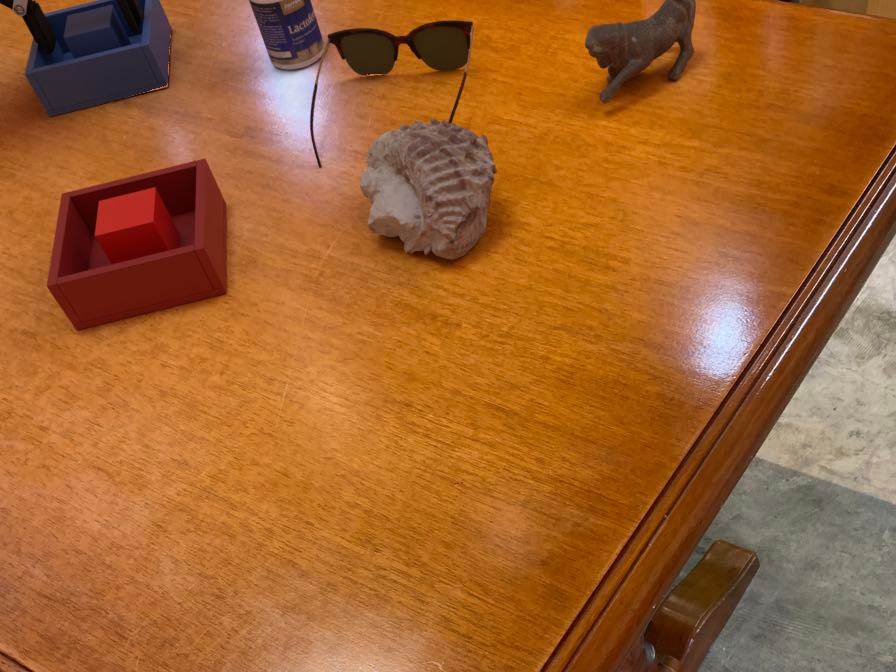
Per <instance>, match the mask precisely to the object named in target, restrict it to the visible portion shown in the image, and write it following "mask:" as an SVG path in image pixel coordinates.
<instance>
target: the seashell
mask: <svg viewBox="0 0 896 672" xmlns="http://www.w3.org/2000/svg"><path fill="white" fill-rule="evenodd" d="M429 120H430V122H428V123H426V122H423V121H421V120H414V122H413V124H411V125H409V124H406V123H403V124H401V125H399V126H398V127H397V128H396V129H395V130H393V129H390V130H388V131H386V132H384V133H382V134H380V135H379V136H378V137H376V138H374V140H373V141H372V142H371V143H370V145H369V147H368V150H367V151H368V152H367V155H366V164H367V168H366V167H365V169H363V170H362V171H361V177H360V185H359V186H360V191H361V193H362V195H363V196H364V197H366V198H368V199H369V202H370V205H371V207H370V208H369V215H368V218H367V222H366V223H367V226H368V229H369V231H370V232H371V233H372V234H374V235H383V236H384V237H389V238H396V237H397V238H398V237H399V239H400V240H401V241H402V242H403V244H404V246H403V249H404V252H405V253H410V254H414V252H423V253H424V256H427V255H428V254H429V253H431V252H432V253H433V254H434V255H435V256H437V257H439V258H441V259H446V260H454V261H456V260H457V259H458V258H461V257H465V256H466V255H467V254H468V253H469V252H470V251H471V250H472V248H474V246H475V245H476V244H477V243H478V242H479V240H480V239H481V238H482V237H483V236H484V234H485V233H486V230H487V223H488V222H487V221H488V211H489V208H490V205H491V194H492V192H493V185H494V183H495V174H497V173H498V171H497V168H496V167H497V166H496V163H495V162H494V156H493V153H492V151H491V149H490V147H489V139H488V138H487V136H486V135H485V134H481V136H479V135H478V134H475V133H474V131H472V130H470V129H469V128H467V127H463V126H461V125H459V124H456V123H453V122H452V123H448V122H449V121H446V120H442V121H441V122H440V121H439V120H437V119H436V118H432V117H429Z"/></svg>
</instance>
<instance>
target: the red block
mask: <svg viewBox="0 0 896 672" xmlns="http://www.w3.org/2000/svg"><path fill="white" fill-rule="evenodd" d="M95 237H96V239H97V241H98V242H99V244H100V246H101V247H102V249H103V251H104V252H105V254H106V256H107V257H108V259H109V261H110V262H111V264H116V263H120V262H124V261H128V260H132V259H136V258H140V257H144V256H148V255H153V254H157V253H161V252H165V251H169V250H173V249H177V248H180V234H179V232H178V230H177V228H176V226H175V224H174V222H173V220H172V218H171V216H170V214H169V212H168V211H167V209H166V207H165V205H164V203H163V201H162V199H161V197H160V195H159V193H158V191H157V189H156V188H155V187H154V188H150V189H146V190H142V191H138V192H134V193H130V194H126V195H122V196H118V197H114V198H110V199H105V200H101V201H99V205H98V213H97V221H96V229H95Z"/></svg>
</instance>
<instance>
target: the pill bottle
mask: <svg viewBox="0 0 896 672" xmlns="http://www.w3.org/2000/svg"><path fill="white" fill-rule="evenodd" d="M248 1H249V4H250V8H251V10H252V13H253V16H254V19H255V21H256V24H257V27H258V30H259V32H260V36H261V38H262V41H263V44H264V47H265V49H266V53H267V55H268V58H269V60H270V62H271V64H272V65H273V66H275V68H278V69H280V70H290V71H291V70H299V69H303V68H305V67H306V68H307V67H308V66H310V65H312V64H314V63H316V62H317V61H318V60H320V59H321V57H322V54H323V51H324V47H325V42H324V39H323V35H322V32H321V29H320V26H319V22H318V19H317V16H316V13H315V9H314V7H313V4H312V1H311V0H248Z"/></svg>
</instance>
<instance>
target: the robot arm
mask: <svg viewBox="0 0 896 672" xmlns="http://www.w3.org/2000/svg"><path fill="white" fill-rule="evenodd" d="M117 2H118V4H119V7H120V9H121V11H122V13H123V15H124V17H125V20H126V22H127V24H128V26H129V28H130V30H131V32H132V33H134V34H135V33H139V32H140V22H141V20H140V19H143V12H142V9H141V7H140V4H139V2H138V0H117ZM0 5H2V6H3V7H6V8H8V9H10V10H12V11H13V13H14V14H15V15H16V16H18V17H21V18H22V20H23V21H24V24H25V26H26V28H27V29H28V31H29V33H30V34H31V36H32V39H33V38H34V40H35V42H36V43H41V44H42V46H43V48H44V50H45V52H46V53H47V54H50V53H53V51H54V49H55V44H56V36H55V34H54V32H53V30H52V28H51V26H50V25H49V23H48V21H47V19H46V17H45V15H44V14H45V13H44V12H43V9H42V7H41V6H40V4H39V2H37V1H36V0H0Z"/></svg>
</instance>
